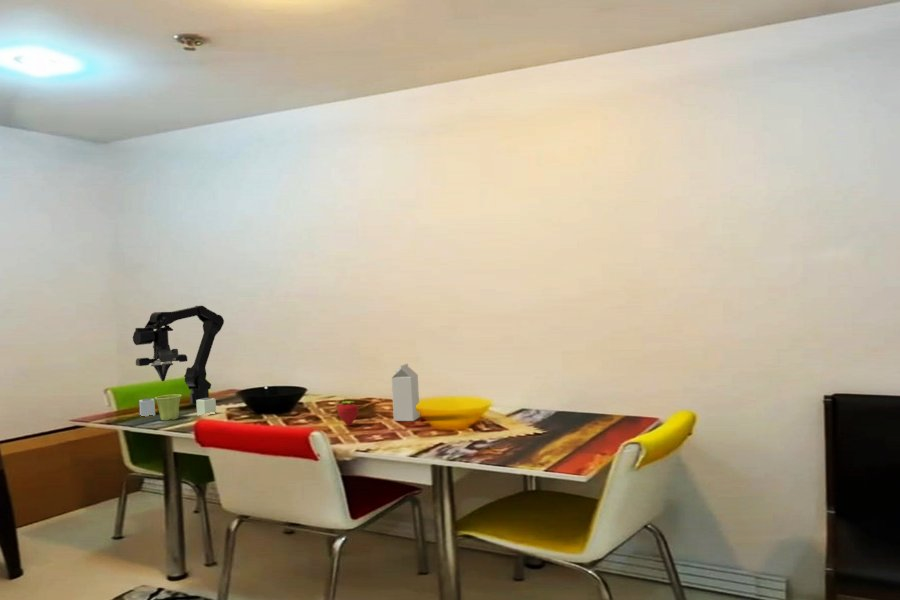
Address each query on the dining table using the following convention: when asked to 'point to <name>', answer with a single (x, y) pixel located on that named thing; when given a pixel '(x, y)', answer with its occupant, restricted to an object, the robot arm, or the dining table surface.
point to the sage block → (205, 406)
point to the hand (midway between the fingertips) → (163, 381)
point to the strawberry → (348, 412)
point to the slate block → (147, 407)
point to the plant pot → (168, 406)
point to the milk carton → (405, 394)
